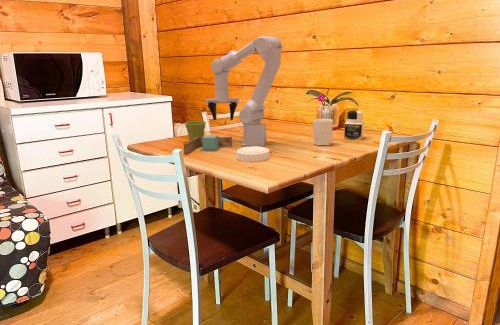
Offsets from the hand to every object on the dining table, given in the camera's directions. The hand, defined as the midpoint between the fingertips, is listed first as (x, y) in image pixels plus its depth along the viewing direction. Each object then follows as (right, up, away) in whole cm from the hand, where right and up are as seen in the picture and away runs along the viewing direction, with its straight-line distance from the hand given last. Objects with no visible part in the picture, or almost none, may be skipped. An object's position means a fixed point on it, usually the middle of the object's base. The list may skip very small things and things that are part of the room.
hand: (223, 119), depth 166 cm
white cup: (+41, -11, -10) cm, 44 cm away
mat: (-4, -13, -13) cm, 19 cm away
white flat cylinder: (+13, -17, -29) cm, 36 cm away
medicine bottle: (+57, -8, -1) cm, 58 cm away
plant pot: (-12, -10, +2) cm, 16 cm away
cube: (-4, -13, -13) cm, 19 cm away
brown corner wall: (-5, -14, -15) cm, 21 cm away
